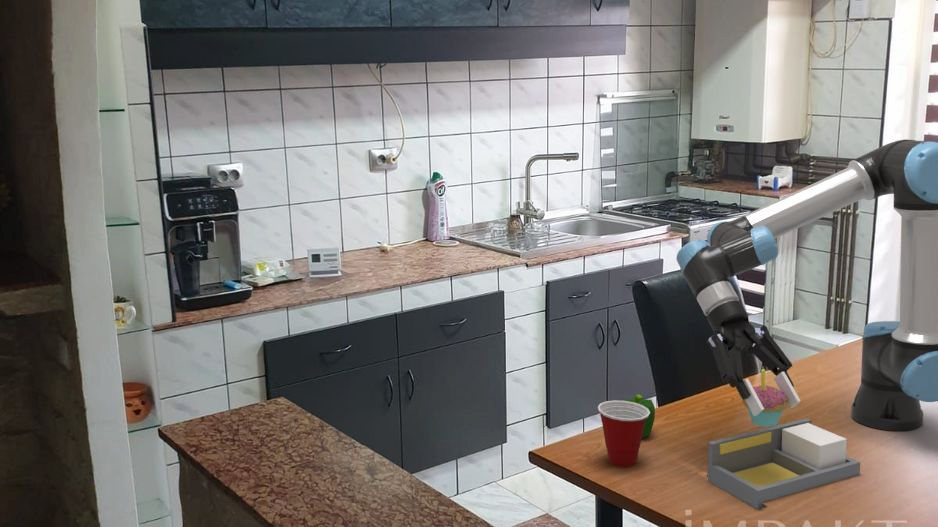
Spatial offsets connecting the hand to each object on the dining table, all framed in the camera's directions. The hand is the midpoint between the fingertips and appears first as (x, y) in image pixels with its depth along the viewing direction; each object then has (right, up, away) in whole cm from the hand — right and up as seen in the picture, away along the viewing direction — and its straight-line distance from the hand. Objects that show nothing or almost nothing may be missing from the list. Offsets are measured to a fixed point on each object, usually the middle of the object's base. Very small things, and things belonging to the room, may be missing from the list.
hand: (777, 408), depth 169 cm
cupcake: (-1, -3, +4) cm, 5 cm away
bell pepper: (-21, -12, +33) cm, 41 cm away
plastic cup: (-26, -15, +19) cm, 35 cm away
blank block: (+11, -13, +10) cm, 20 cm away
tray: (+4, -15, +7) cm, 18 cm away
